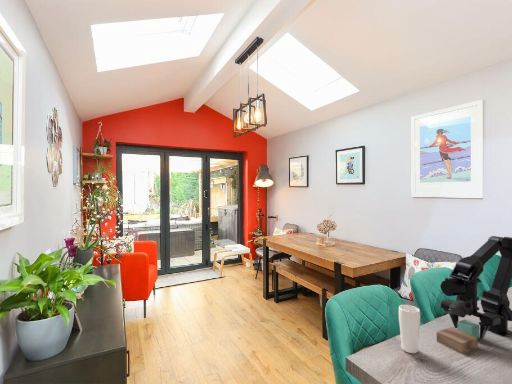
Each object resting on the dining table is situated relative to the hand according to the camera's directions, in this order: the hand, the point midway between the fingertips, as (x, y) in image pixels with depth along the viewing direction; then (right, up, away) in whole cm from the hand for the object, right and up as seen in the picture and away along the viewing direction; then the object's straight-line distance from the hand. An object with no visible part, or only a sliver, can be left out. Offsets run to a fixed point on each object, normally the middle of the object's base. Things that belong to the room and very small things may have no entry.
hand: (468, 333), depth 109 cm
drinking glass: (-29, -1, -10) cm, 30 cm away
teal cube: (0, -1, 0) cm, 1 cm away
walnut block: (-9, -1, -6) cm, 11 cm away
